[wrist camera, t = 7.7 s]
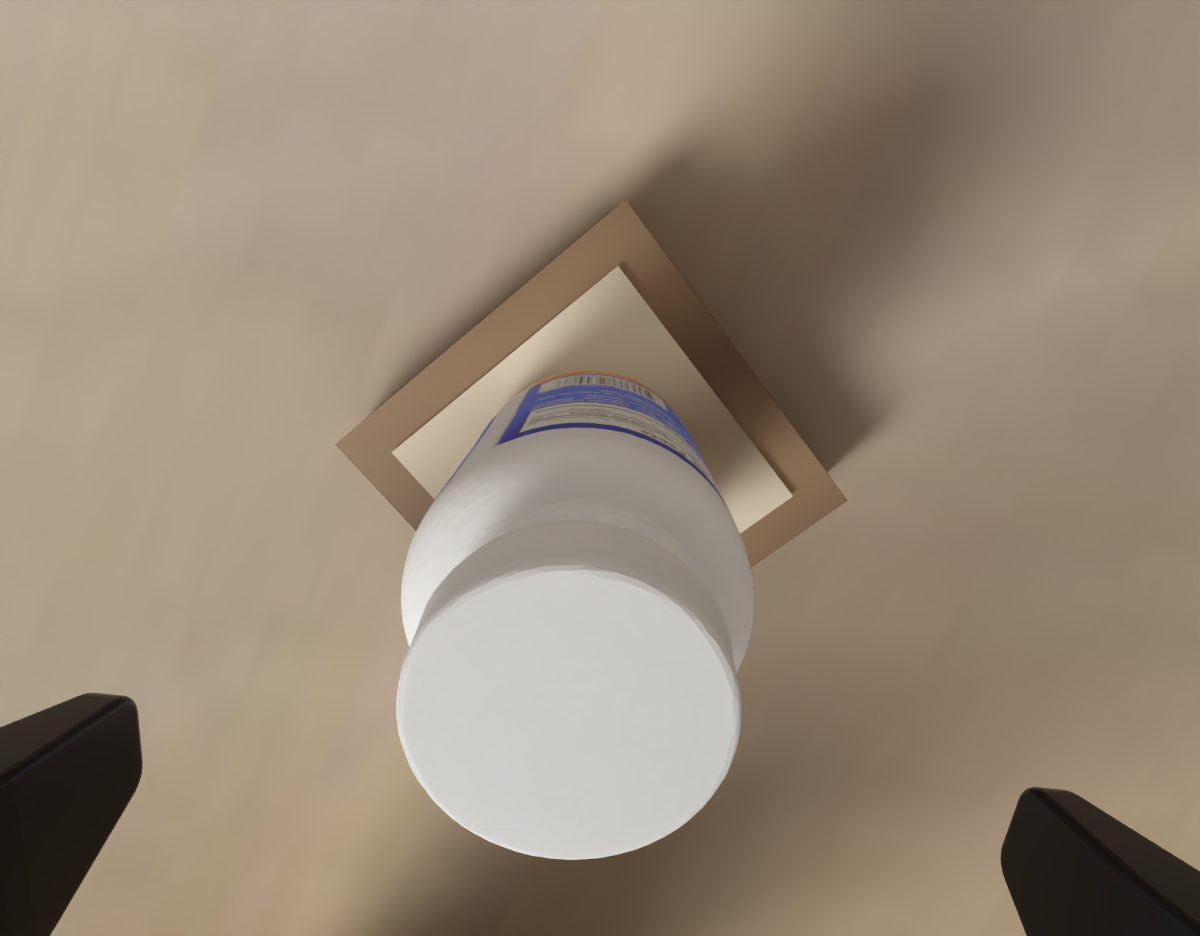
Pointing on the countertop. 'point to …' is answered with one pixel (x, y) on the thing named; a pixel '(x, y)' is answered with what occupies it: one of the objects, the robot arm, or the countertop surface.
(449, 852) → the countertop surface
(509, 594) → the pill bottle
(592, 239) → the walnut picture frame
